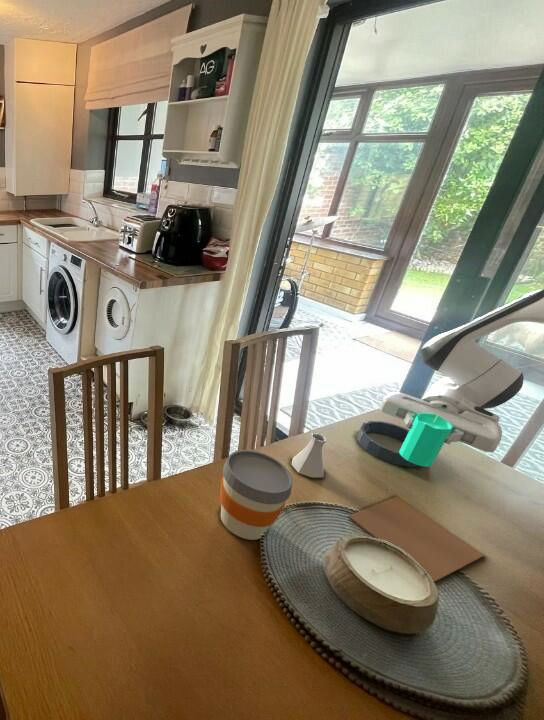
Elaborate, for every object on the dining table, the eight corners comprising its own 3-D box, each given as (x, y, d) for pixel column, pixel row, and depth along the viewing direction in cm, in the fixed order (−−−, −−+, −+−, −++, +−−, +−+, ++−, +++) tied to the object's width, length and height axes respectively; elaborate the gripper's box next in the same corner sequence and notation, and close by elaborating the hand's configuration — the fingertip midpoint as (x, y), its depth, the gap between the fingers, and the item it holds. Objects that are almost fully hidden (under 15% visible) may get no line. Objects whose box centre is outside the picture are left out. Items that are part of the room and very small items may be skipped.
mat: (483, 556, 82) (484, 555, 82) (432, 583, 77) (433, 581, 77) (396, 497, 95) (396, 496, 95) (348, 516, 91) (348, 515, 90)
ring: (437, 458, 107) (443, 448, 105) (401, 472, 102) (406, 462, 101) (379, 426, 119) (383, 416, 118) (344, 437, 115) (348, 427, 113)
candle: (399, 445, 98) (419, 403, 93) (432, 456, 95) (455, 413, 90) (398, 458, 94) (419, 416, 89) (433, 470, 91) (457, 427, 85)
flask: (295, 475, 102) (306, 443, 97) (287, 456, 108) (298, 425, 104) (328, 481, 100) (341, 449, 96) (318, 461, 106) (330, 430, 102)
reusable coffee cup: (242, 493, 97) (257, 443, 90) (289, 536, 86) (309, 483, 80) (199, 508, 93) (212, 457, 86) (242, 555, 82) (260, 501, 76)
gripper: (394, 381, 104) (376, 400, 97) (510, 419, 90) (500, 446, 82) (385, 401, 107) (367, 421, 99) (496, 442, 92) (485, 469, 85)
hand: (428, 433), depth 91 cm, fingers closed on candle, 5 cm apart
